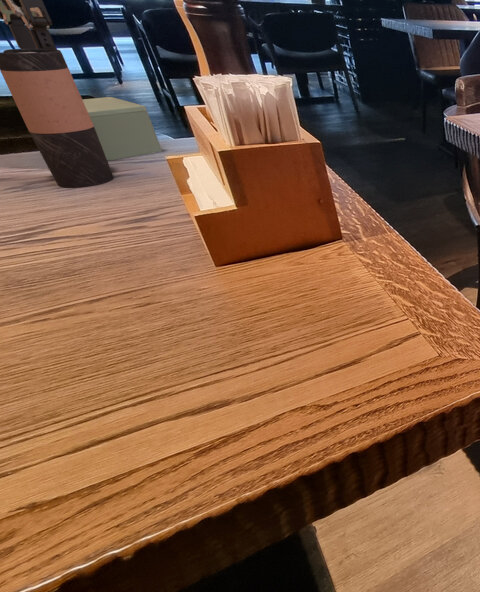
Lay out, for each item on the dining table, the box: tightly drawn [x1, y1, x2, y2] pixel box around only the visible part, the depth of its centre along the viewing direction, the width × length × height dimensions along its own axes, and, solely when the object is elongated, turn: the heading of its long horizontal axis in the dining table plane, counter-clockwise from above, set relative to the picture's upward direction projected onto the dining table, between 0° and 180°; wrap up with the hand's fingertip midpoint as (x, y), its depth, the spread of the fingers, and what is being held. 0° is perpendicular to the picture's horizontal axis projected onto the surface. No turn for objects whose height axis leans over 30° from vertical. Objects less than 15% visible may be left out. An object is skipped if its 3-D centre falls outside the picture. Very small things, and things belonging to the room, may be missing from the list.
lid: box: [82, 96, 148, 117], centre depth 94 cm, size 12×15×5 cm
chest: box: [90, 110, 163, 161], centre depth 98 cm, size 12×15×9 cm
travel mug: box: [0, 48, 114, 188], centre depth 83 cm, size 8×8×20 cm
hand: (38, 51), depth 88 cm, fingers open, 8 cm apart
